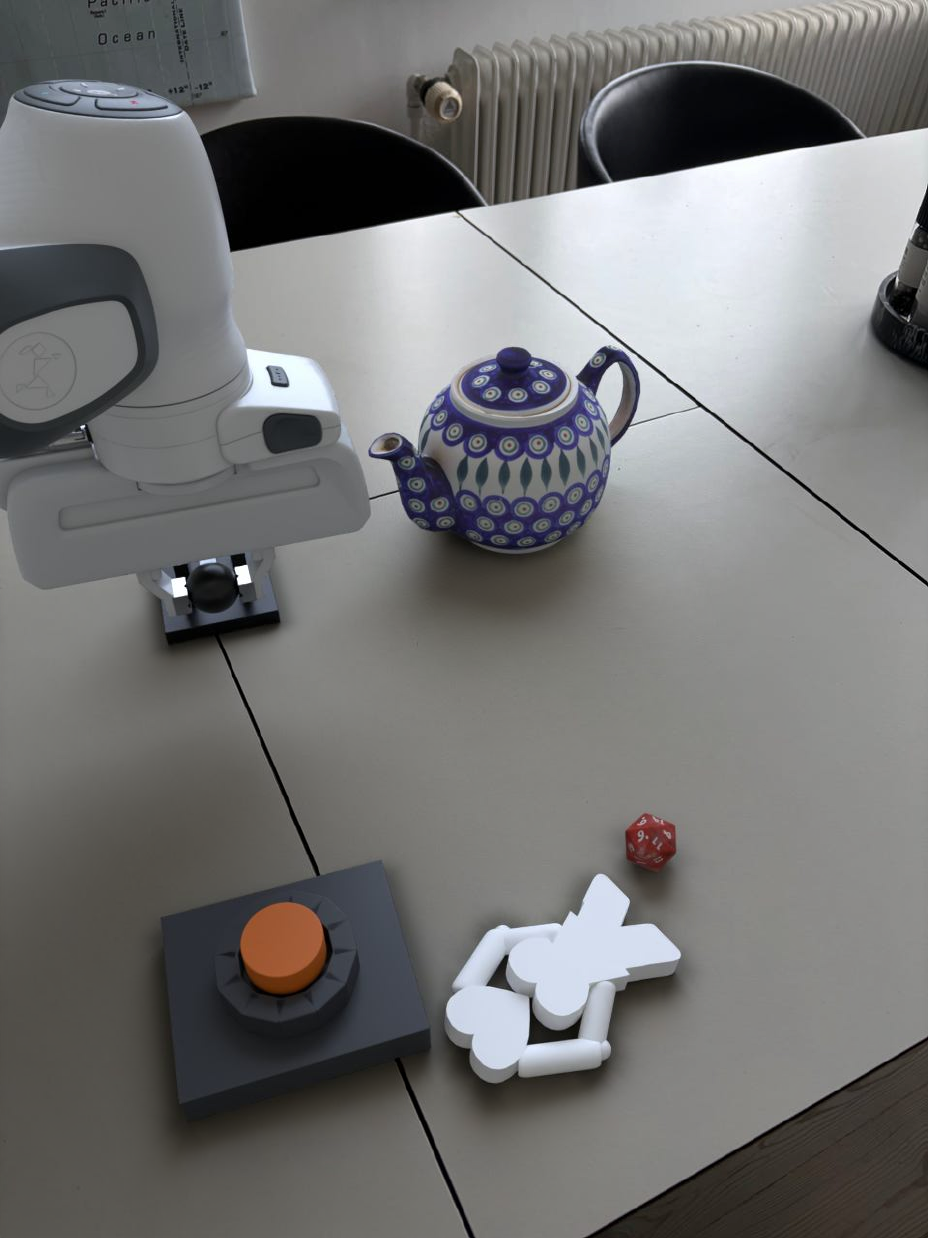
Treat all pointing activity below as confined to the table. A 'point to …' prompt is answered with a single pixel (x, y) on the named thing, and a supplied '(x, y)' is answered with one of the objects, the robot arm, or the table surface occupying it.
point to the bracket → (222, 622)
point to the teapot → (512, 450)
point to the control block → (289, 995)
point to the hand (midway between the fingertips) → (216, 602)
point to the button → (283, 948)
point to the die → (650, 842)
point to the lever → (212, 587)
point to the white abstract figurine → (553, 987)
